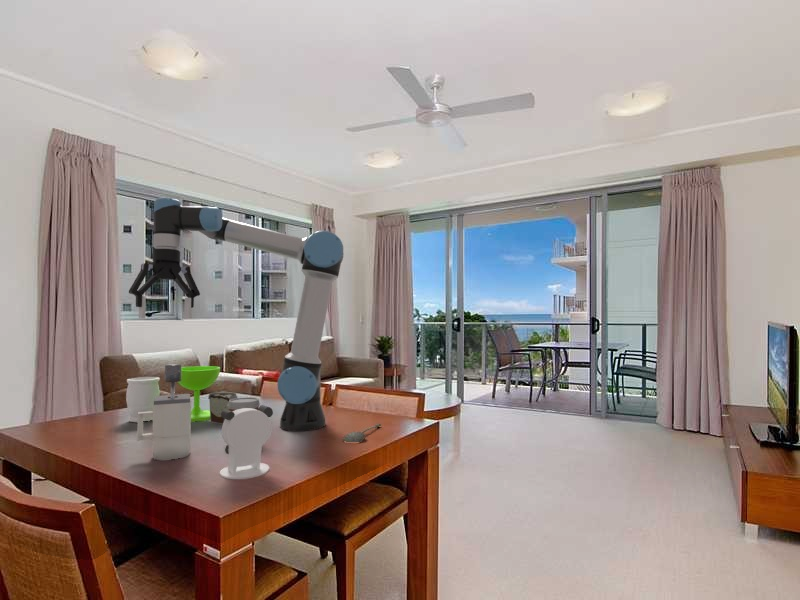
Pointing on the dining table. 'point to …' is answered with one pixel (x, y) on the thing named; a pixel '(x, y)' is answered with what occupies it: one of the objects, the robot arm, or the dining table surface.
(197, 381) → the wineglass
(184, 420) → the press pot
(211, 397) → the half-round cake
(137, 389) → the jar
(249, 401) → the disposable coffee cup
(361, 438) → the soupspoon
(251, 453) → the panda figurine
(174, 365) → the plunger
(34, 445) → the dining table surface
